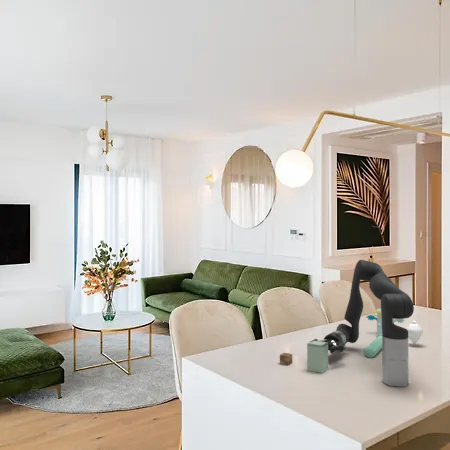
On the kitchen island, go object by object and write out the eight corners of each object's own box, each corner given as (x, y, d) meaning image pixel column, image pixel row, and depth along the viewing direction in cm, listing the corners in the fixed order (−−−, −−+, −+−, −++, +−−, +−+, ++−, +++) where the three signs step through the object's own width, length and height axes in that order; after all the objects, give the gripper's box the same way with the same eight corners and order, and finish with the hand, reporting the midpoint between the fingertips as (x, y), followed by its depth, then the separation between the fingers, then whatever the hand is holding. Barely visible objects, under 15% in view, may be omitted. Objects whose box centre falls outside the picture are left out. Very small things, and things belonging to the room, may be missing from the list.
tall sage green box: (328, 368, 193) (328, 342, 193) (322, 373, 188) (322, 345, 188) (313, 366, 197) (313, 340, 196) (307, 370, 191) (307, 343, 191)
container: (372, 345, 207) (385, 332, 228) (359, 348, 210) (373, 335, 231) (377, 358, 206) (390, 344, 227) (365, 361, 209) (378, 347, 230)
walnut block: (292, 363, 202) (292, 354, 201) (288, 365, 198) (288, 356, 198) (283, 361, 204) (283, 352, 204) (279, 364, 200) (279, 354, 200)
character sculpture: (363, 335, 249) (363, 310, 249) (368, 330, 259) (368, 306, 259) (403, 339, 239) (403, 313, 239) (406, 335, 249) (406, 309, 249)
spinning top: (408, 342, 233) (408, 318, 233) (425, 345, 228) (424, 320, 228) (403, 346, 227) (403, 321, 227) (420, 348, 222) (419, 323, 222)
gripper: (319, 330, 213) (305, 338, 199) (350, 334, 205) (337, 342, 191) (319, 346, 213) (305, 355, 199) (350, 351, 205) (337, 360, 191)
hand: (321, 349), depth 195 cm, fingers open, 8 cm apart
